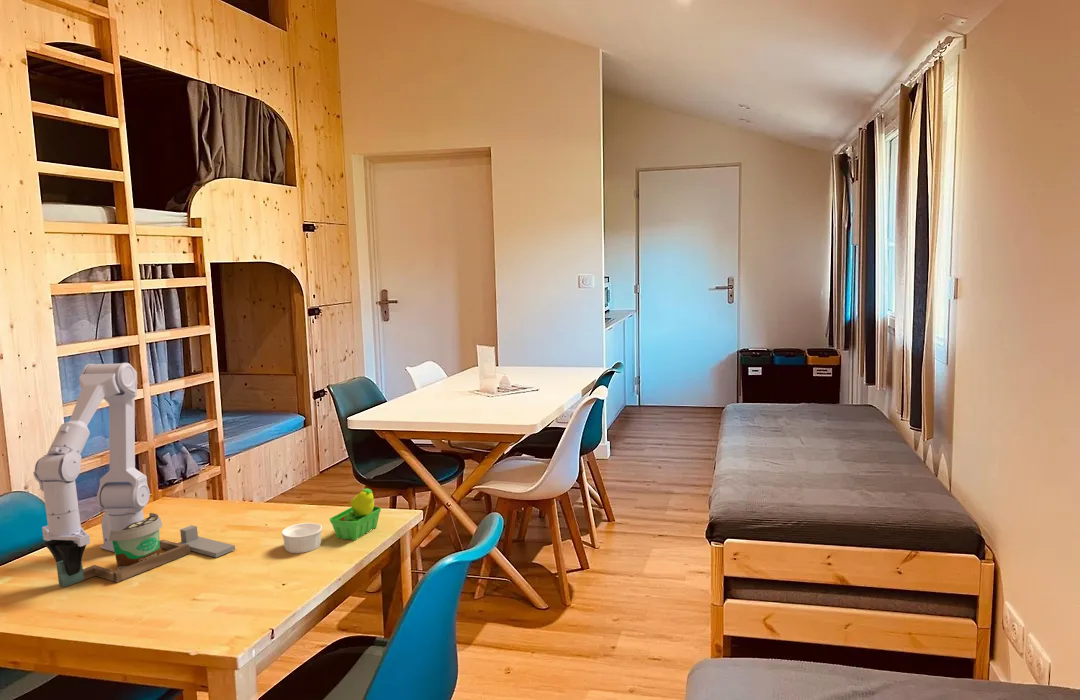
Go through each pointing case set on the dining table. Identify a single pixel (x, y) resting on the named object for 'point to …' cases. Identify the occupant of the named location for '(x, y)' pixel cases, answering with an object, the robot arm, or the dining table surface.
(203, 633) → the dining table surface
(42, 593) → the dining table surface
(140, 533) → the food container
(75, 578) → the walnut sled
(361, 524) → the fruit basket
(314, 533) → the ramekin
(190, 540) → the grey l-shaped block
